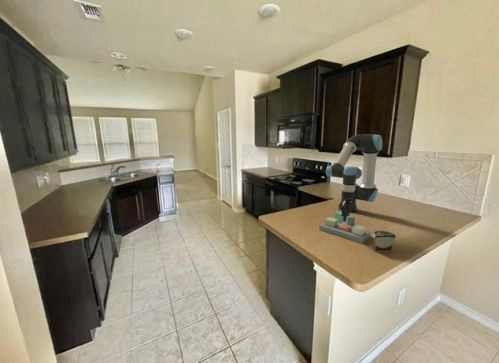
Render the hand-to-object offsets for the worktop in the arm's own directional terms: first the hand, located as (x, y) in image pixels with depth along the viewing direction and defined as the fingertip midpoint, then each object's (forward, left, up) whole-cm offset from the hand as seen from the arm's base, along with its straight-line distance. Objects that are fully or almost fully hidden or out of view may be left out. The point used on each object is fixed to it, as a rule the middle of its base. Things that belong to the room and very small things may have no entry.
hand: (344, 225), depth 145 cm
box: (-16, -7, -6) cm, 18 cm away
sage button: (0, -9, -2) cm, 9 cm away
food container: (+6, +23, -6) cm, 24 cm away
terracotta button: (0, 0, -4) cm, 4 cm away
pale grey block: (0, +9, -2) cm, 9 cm away
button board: (0, 0, -5) cm, 5 cm away
